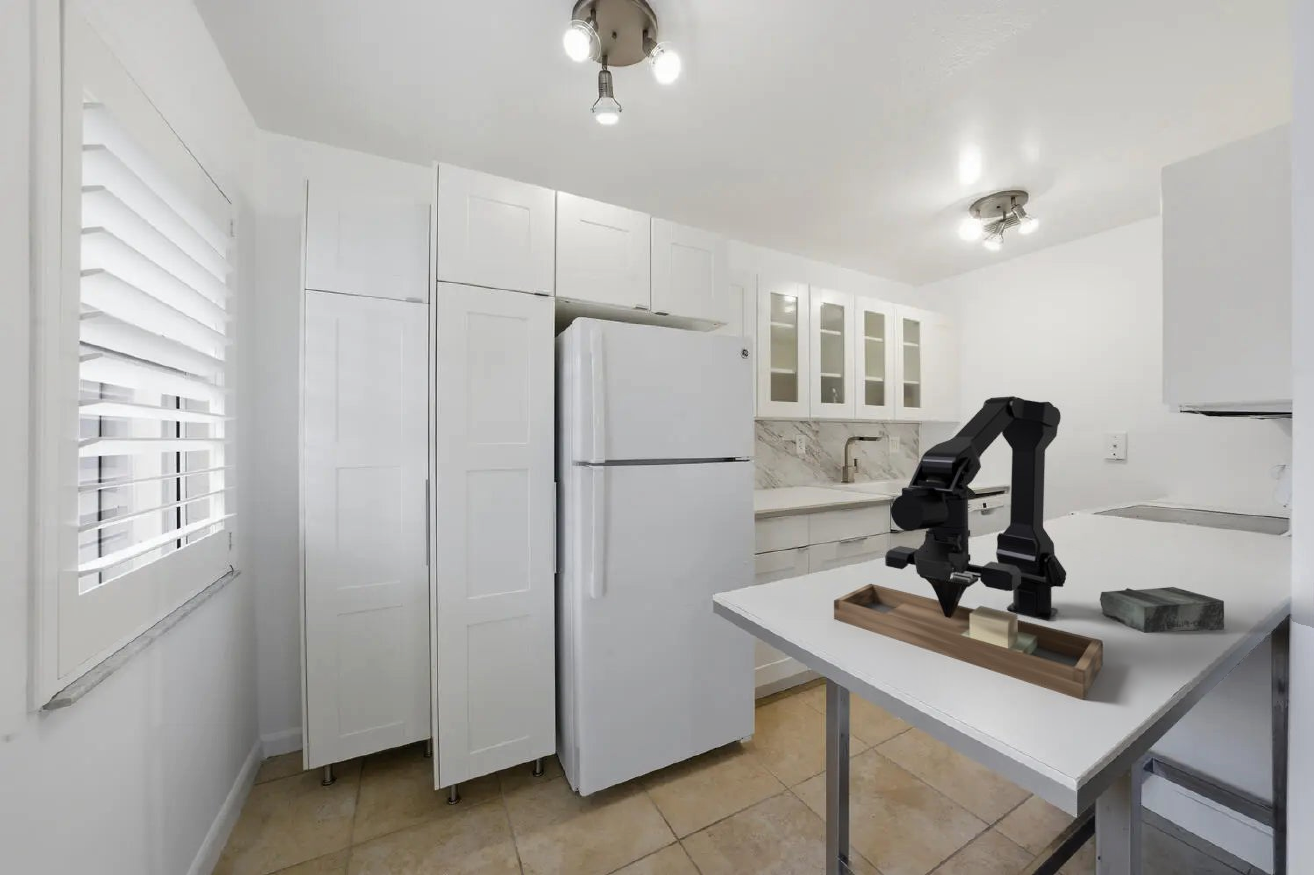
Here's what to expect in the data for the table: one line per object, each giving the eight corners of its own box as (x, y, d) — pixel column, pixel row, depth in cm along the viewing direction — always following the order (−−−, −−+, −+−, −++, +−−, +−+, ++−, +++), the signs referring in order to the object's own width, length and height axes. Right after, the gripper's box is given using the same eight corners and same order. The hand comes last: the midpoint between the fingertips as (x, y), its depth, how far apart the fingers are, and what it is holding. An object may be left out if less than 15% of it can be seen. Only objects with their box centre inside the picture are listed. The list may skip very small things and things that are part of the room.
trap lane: (870, 600, 97) (870, 583, 97) (1102, 664, 70) (1102, 640, 70) (834, 618, 88) (833, 600, 88) (1083, 699, 61) (1083, 673, 61)
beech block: (980, 629, 78) (980, 605, 78) (1017, 639, 74) (1017, 614, 74) (969, 638, 74) (969, 613, 74) (1007, 649, 71) (1007, 623, 70)
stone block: (1093, 614, 89) (1093, 586, 88) (1167, 611, 89) (1167, 584, 89) (1144, 634, 80) (1143, 603, 80) (1226, 631, 80) (1225, 600, 80)
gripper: (870, 523, 81) (871, 613, 81) (1000, 542, 67) (1001, 651, 67) (898, 515, 88) (899, 598, 88) (1021, 530, 74) (1022, 629, 74)
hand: (948, 616), depth 79 cm, fingers closed
